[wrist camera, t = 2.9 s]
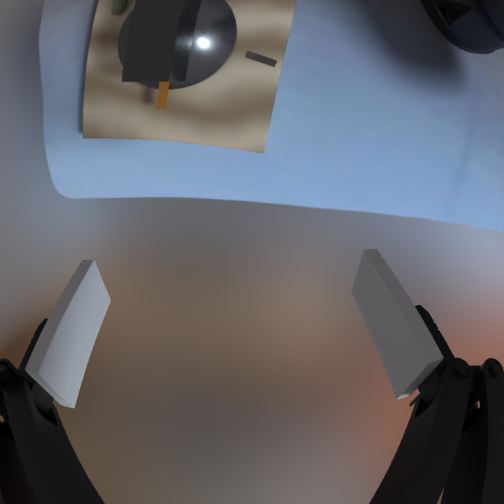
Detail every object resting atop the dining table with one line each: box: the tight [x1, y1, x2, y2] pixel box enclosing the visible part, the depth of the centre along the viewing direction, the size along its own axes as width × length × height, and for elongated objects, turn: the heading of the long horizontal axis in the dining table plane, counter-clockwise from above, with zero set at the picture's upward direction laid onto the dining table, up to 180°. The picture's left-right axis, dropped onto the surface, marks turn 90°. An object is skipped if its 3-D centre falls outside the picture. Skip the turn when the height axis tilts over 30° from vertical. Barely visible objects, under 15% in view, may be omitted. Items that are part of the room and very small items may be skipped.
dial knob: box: [117, 0, 237, 109], centre depth 17 cm, size 14×12×8 cm
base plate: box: [83, 0, 297, 153], centre depth 20 cm, size 24×22×4 cm
